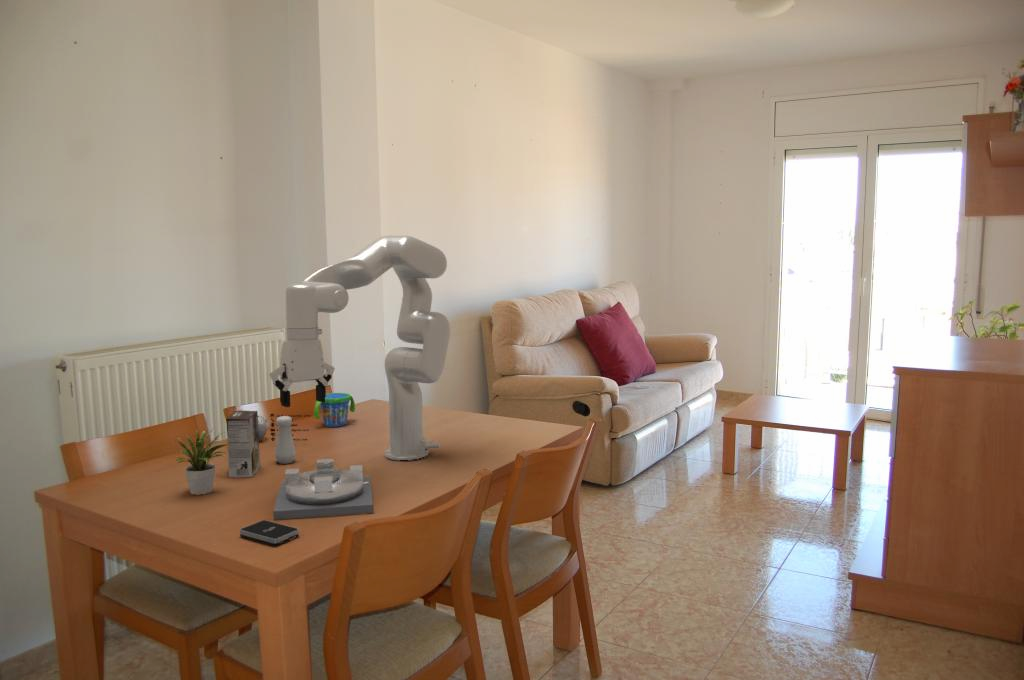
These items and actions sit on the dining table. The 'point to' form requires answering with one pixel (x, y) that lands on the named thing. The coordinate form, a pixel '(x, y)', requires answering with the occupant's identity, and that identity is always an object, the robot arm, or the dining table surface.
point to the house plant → (200, 463)
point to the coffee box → (243, 443)
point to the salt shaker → (284, 441)
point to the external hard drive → (269, 533)
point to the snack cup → (335, 409)
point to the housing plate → (323, 505)
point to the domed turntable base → (324, 484)
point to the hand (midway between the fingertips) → (303, 403)
